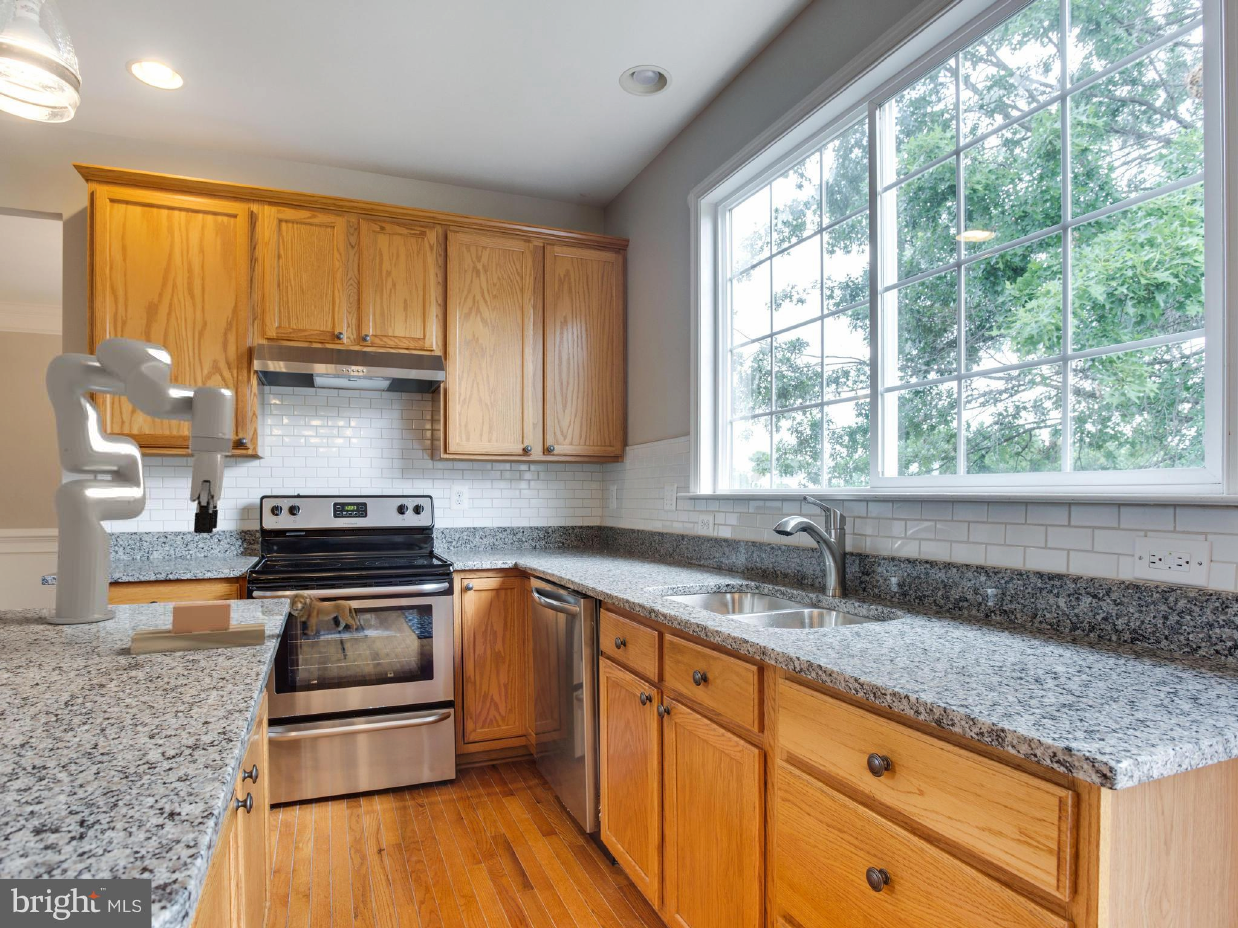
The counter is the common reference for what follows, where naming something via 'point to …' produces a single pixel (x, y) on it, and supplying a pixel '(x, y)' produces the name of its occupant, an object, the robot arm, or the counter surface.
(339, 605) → the lion figurine
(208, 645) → the rail
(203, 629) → the clip
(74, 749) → the counter surface
